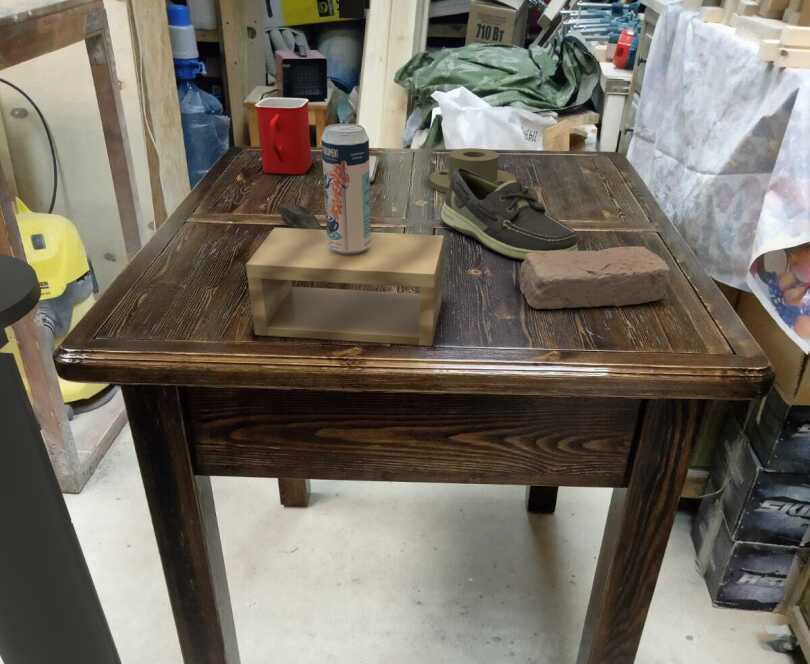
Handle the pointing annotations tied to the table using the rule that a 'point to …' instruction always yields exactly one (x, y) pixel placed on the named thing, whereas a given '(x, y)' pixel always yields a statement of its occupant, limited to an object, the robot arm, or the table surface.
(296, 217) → the tool
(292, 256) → the shelf
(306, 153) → the mug
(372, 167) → the smartphone
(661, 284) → the brick
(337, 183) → the beer can
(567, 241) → the boat shoe
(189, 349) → the table surface
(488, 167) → the flange
